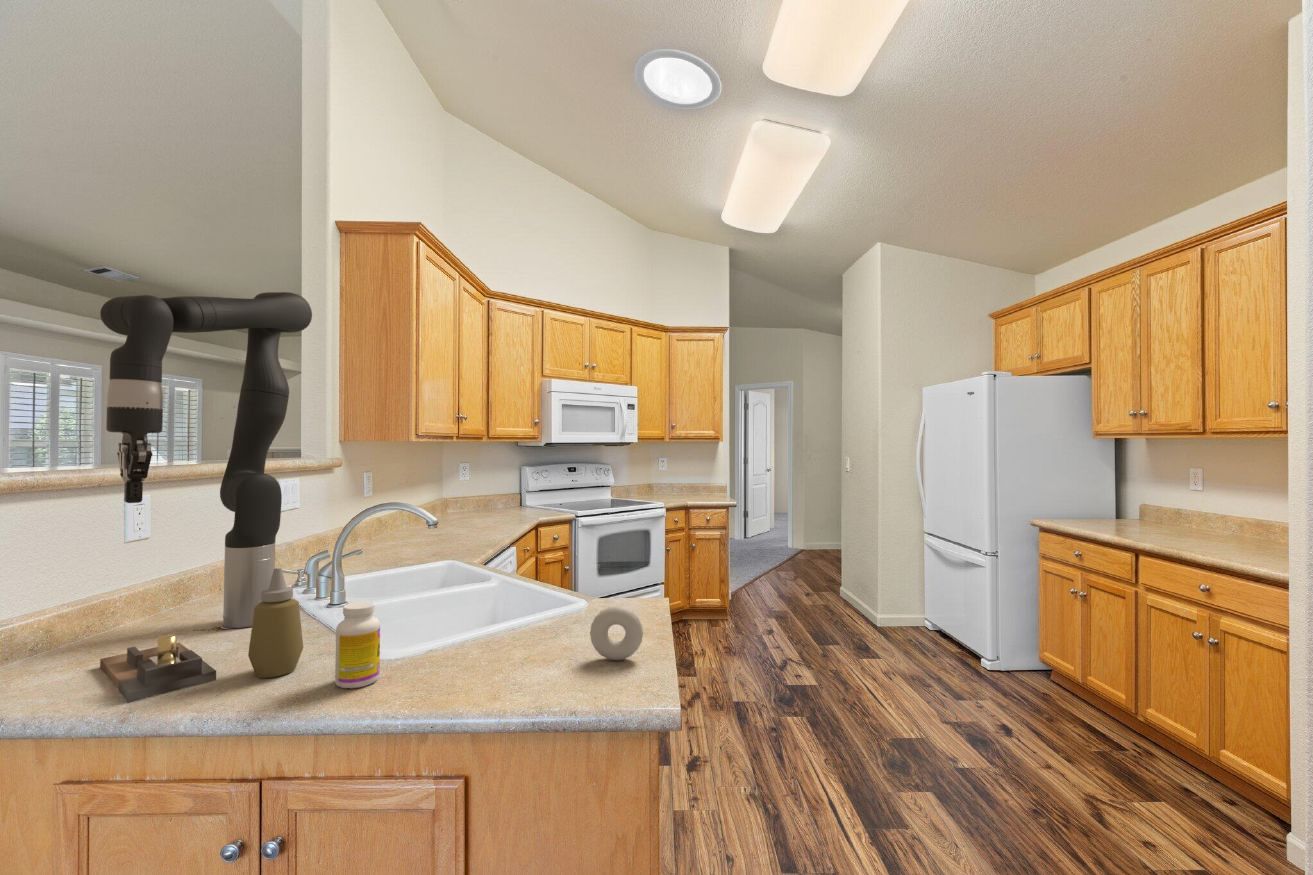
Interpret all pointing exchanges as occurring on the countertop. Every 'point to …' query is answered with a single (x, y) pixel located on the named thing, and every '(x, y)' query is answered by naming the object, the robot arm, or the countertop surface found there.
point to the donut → (616, 648)
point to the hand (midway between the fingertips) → (133, 502)
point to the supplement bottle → (357, 646)
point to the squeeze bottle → (276, 630)
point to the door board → (155, 672)
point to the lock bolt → (166, 650)
